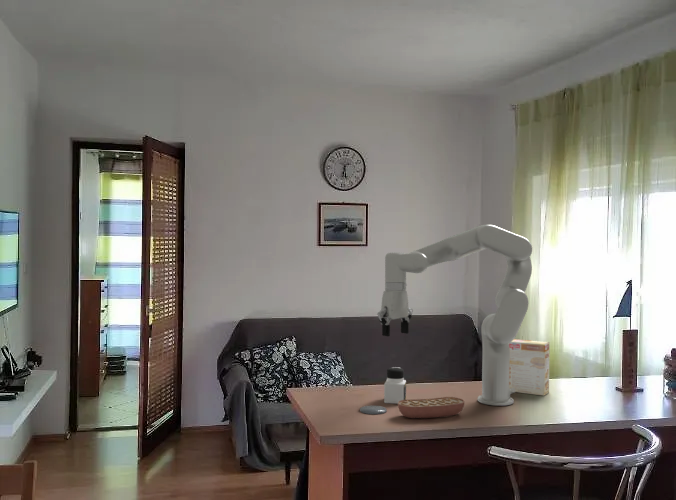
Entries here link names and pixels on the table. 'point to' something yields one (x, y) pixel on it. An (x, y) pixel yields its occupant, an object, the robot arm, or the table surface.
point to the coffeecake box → (529, 366)
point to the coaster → (373, 409)
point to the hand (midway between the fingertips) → (395, 334)
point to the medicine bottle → (395, 386)
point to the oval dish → (431, 407)
